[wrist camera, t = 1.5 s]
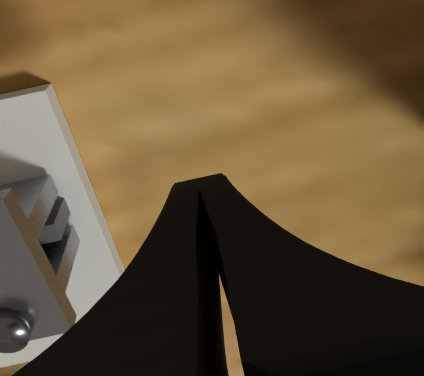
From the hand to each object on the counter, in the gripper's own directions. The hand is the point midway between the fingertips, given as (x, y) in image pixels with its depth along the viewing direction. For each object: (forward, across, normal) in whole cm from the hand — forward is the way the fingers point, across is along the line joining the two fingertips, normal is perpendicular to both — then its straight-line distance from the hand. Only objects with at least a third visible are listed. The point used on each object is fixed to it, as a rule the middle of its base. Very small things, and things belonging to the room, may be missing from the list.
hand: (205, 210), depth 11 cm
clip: (+6, +8, +3) cm, 11 cm away
